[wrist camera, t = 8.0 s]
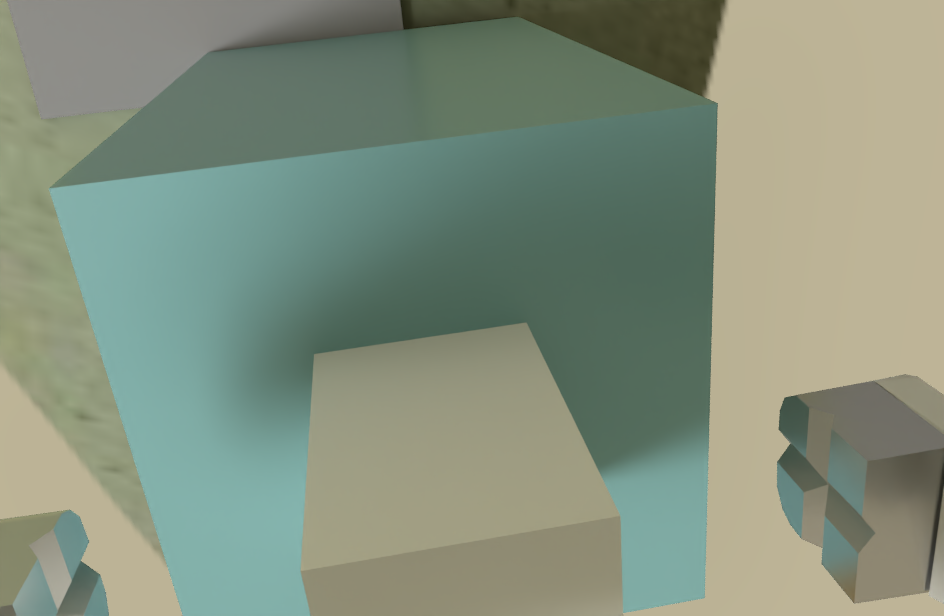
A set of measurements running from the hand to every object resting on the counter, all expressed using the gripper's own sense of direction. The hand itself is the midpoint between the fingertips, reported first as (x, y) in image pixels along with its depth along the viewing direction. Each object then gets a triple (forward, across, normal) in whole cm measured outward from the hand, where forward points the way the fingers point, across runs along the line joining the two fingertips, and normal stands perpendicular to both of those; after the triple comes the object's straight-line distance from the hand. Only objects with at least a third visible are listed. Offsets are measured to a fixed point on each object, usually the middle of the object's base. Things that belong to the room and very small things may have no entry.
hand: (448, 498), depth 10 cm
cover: (+16, 0, 0) cm, 16 cm away
